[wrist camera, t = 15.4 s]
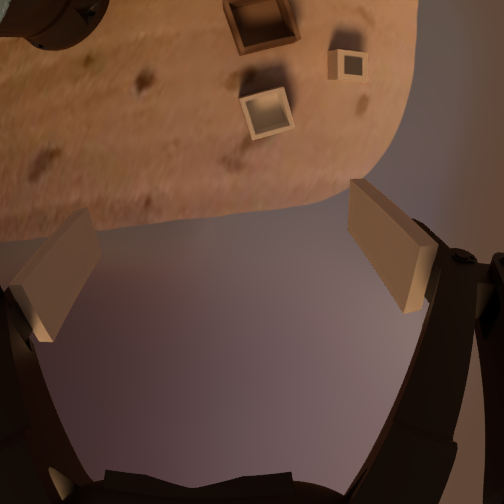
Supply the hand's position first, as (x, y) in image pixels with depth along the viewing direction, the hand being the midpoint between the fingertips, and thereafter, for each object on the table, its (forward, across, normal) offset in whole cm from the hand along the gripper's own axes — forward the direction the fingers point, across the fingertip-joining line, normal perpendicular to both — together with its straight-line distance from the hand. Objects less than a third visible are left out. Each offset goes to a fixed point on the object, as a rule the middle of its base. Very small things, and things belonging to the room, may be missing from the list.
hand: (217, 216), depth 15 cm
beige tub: (+33, +6, +2) cm, 33 cm away
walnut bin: (+32, +6, +15) cm, 36 cm away
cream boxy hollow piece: (+33, +18, +9) cm, 38 cm away
